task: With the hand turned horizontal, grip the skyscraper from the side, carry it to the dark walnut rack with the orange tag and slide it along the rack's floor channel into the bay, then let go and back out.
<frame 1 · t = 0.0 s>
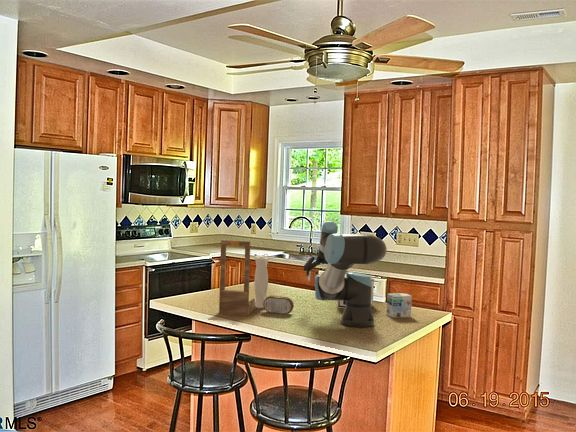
hand: (321, 279, 282), 15 cm above the countertop, tool tilted 35°, fingers open, 13 cm apart
light bulb box: (398, 316, 274), on the countertop
rack: (237, 311, 271), on the countertop
block: (355, 307, 292), on the countertop
skyscraper: (261, 307, 283), on the countertop
tin: (277, 313, 270), on the countertop
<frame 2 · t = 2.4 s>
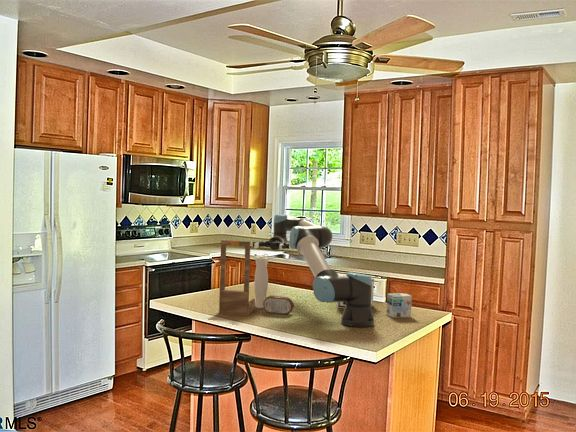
hand: (267, 246, 291), 30 cm above the countertop, tool horizontal, fingers open, 13 cm apart
nothing on the countertop moved.
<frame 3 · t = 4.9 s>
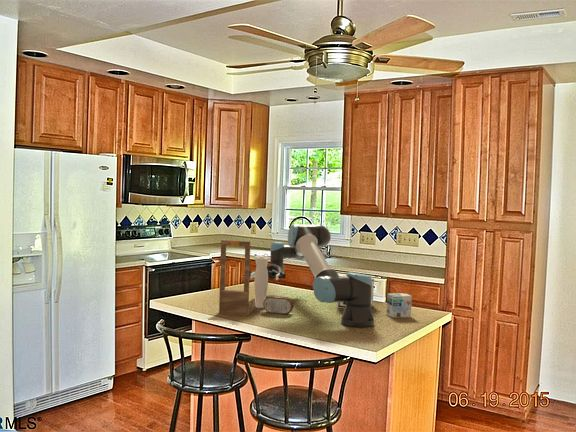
hand: (263, 277, 288), 15 cm above the countertop, tool horizontal, fingers open, 13 cm apart
nothing on the countertop moved.
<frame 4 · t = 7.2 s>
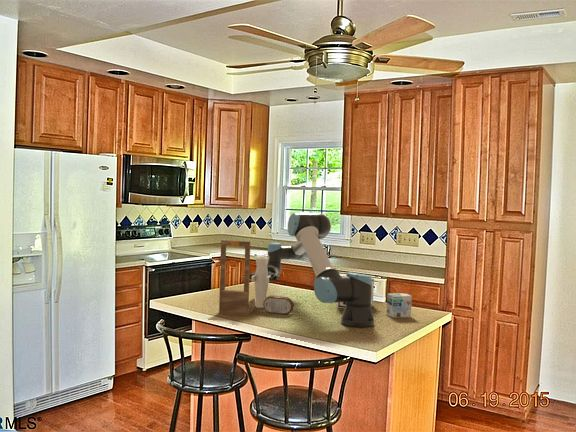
hand: (259, 279, 277), 15 cm above the countertop, tool horizontal, fingers closed on skyscraper, 7 cm apart
skyscraper: (261, 307, 283), on the countertop, touching gripper
everything else where it was.
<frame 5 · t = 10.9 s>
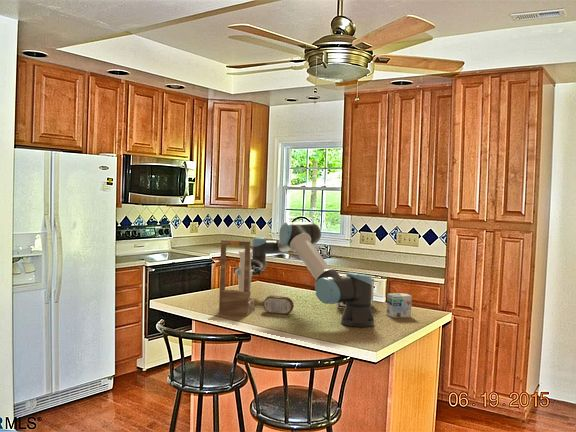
hand: (242, 273, 278), 18 cm above the countertop, tool horizontal, fingers closed on skyscraper, 7 cm apart
skyscraper: (244, 301, 284), point 2 cm above the countertop, touching gripper
everything else where it was.
when the fingers open (17 cm above the countertop, at t = 14.6 s): skyscraper stays where it is, resting on rack.
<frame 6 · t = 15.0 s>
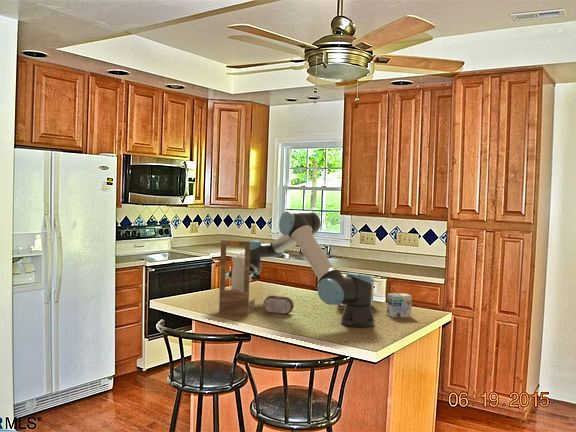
hand: (236, 278, 268), 17 cm above the countertop, tool horizontal, fingers open, 12 cm apart
skyscraper: (238, 308, 272), point 1 cm above the countertop, touching rack
everything else where it was.
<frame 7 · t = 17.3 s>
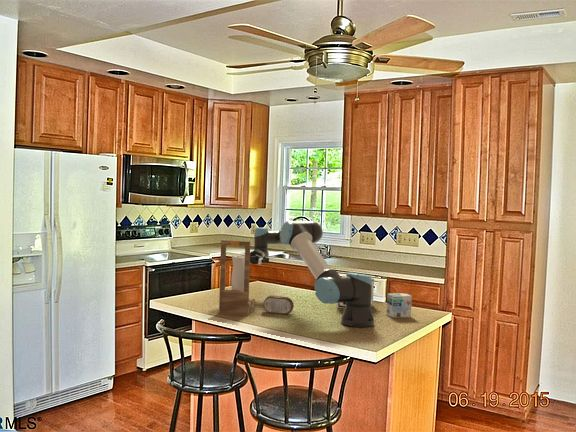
hand: (246, 261, 281), 24 cm above the countertop, tool horizontal, fingers open, 13 cm apart
nothing on the countertop moved.
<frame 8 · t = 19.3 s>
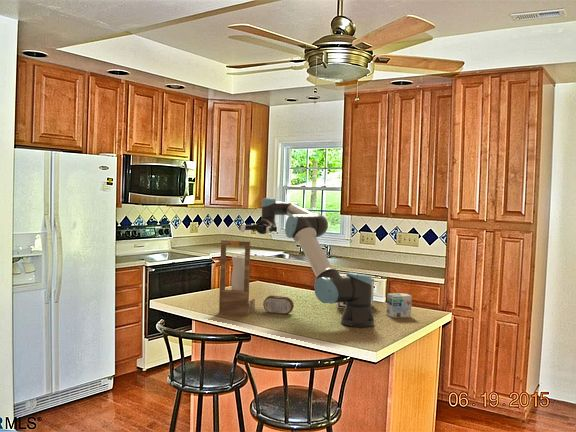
hand: (254, 229, 280), 40 cm above the countertop, tool horizontal, fingers open, 13 cm apart
nothing on the countertop moved.
at the end: skyscraper 1.1 cm from the rack (horizontally); skyscraper tilted 0°; the gripper is holding nothing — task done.
